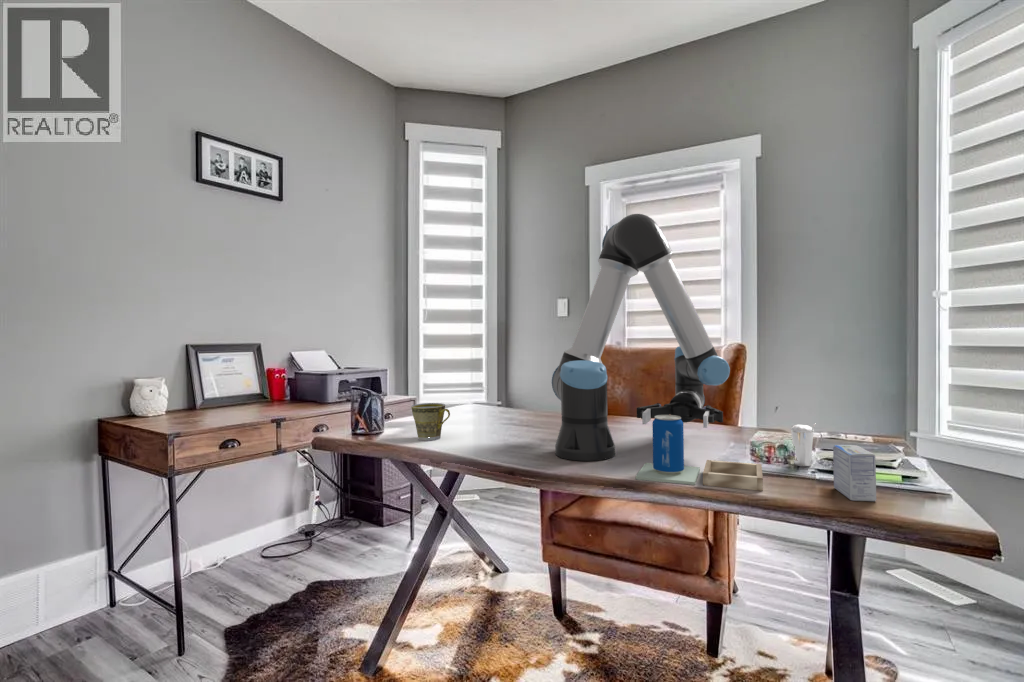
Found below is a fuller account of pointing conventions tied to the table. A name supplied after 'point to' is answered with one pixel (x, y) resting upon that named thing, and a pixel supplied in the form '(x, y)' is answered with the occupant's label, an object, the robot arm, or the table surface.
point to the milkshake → (803, 443)
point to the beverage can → (668, 444)
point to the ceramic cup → (429, 420)
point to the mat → (683, 477)
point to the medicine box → (854, 472)
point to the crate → (733, 475)
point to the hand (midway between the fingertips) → (673, 420)
